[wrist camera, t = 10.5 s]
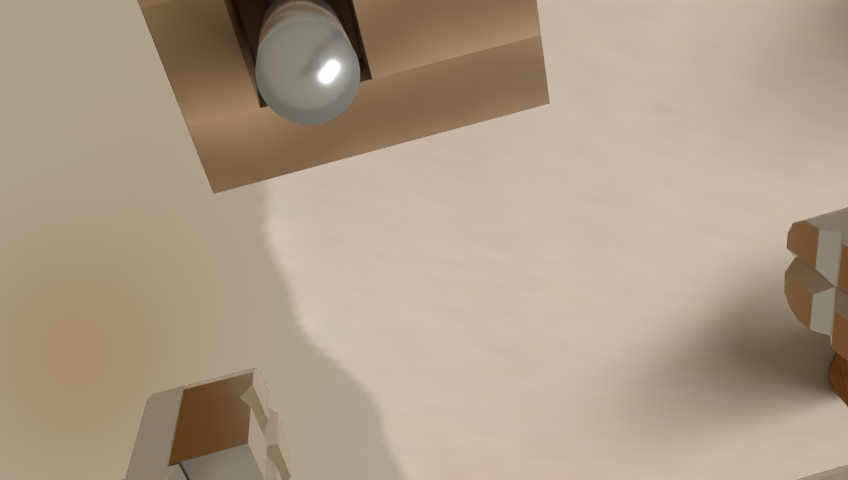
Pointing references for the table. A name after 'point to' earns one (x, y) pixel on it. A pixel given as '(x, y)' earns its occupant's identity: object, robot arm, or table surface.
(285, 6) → the pin
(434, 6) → the socket block
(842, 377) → the disposable coffee cup
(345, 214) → the table surface
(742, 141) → the table surface
